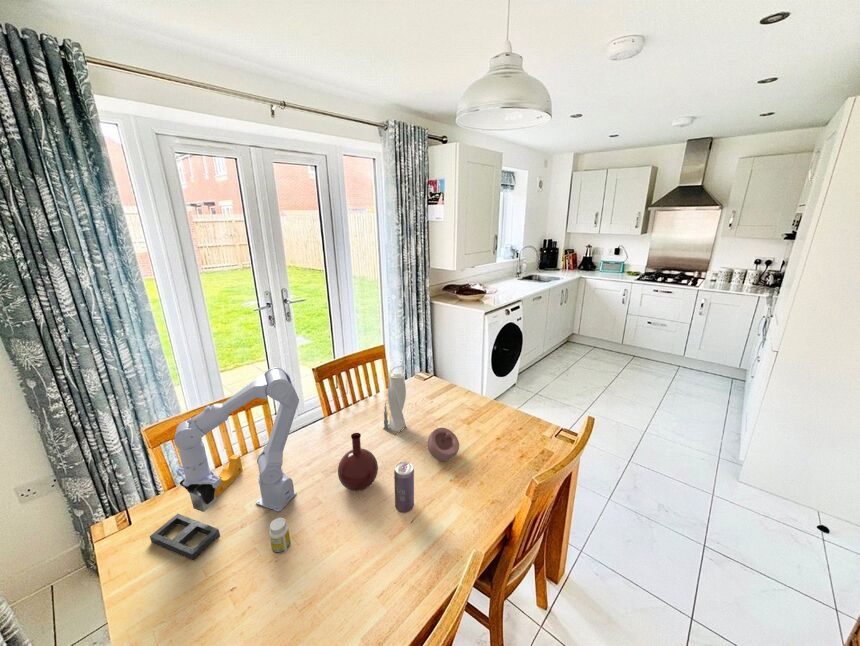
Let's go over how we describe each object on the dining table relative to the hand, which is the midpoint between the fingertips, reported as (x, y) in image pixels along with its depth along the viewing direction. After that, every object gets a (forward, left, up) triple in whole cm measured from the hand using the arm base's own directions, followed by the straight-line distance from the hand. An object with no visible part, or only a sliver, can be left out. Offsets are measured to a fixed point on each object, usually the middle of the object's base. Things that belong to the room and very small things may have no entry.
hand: (203, 499), depth 100 cm
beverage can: (-53, -25, -9) cm, 59 cm away
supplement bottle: (-26, -1, -9) cm, 27 cm away
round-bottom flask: (-35, -28, -9) cm, 45 cm away
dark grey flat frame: (+1, +6, -9) cm, 11 cm away
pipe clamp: (+9, -14, -9) cm, 19 cm away
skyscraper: (-34, -62, -9) cm, 71 cm away
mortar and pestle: (-58, -51, -9) cm, 77 cm away
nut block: (0, 0, -2) cm, 2 cm away
